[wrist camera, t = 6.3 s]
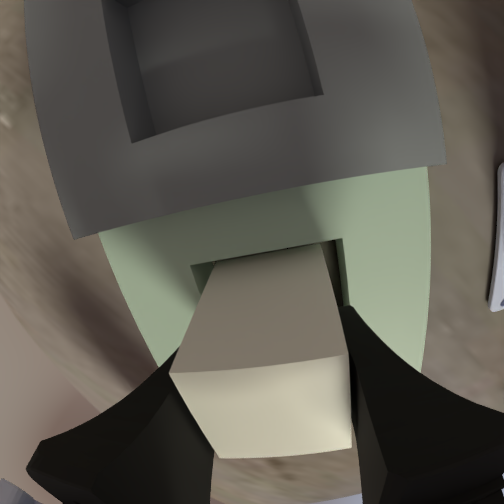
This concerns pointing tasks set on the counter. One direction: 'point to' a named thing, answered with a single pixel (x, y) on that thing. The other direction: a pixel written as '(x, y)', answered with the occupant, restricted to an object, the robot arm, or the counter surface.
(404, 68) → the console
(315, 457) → the counter surface
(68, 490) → the robot arm
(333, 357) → the peg
